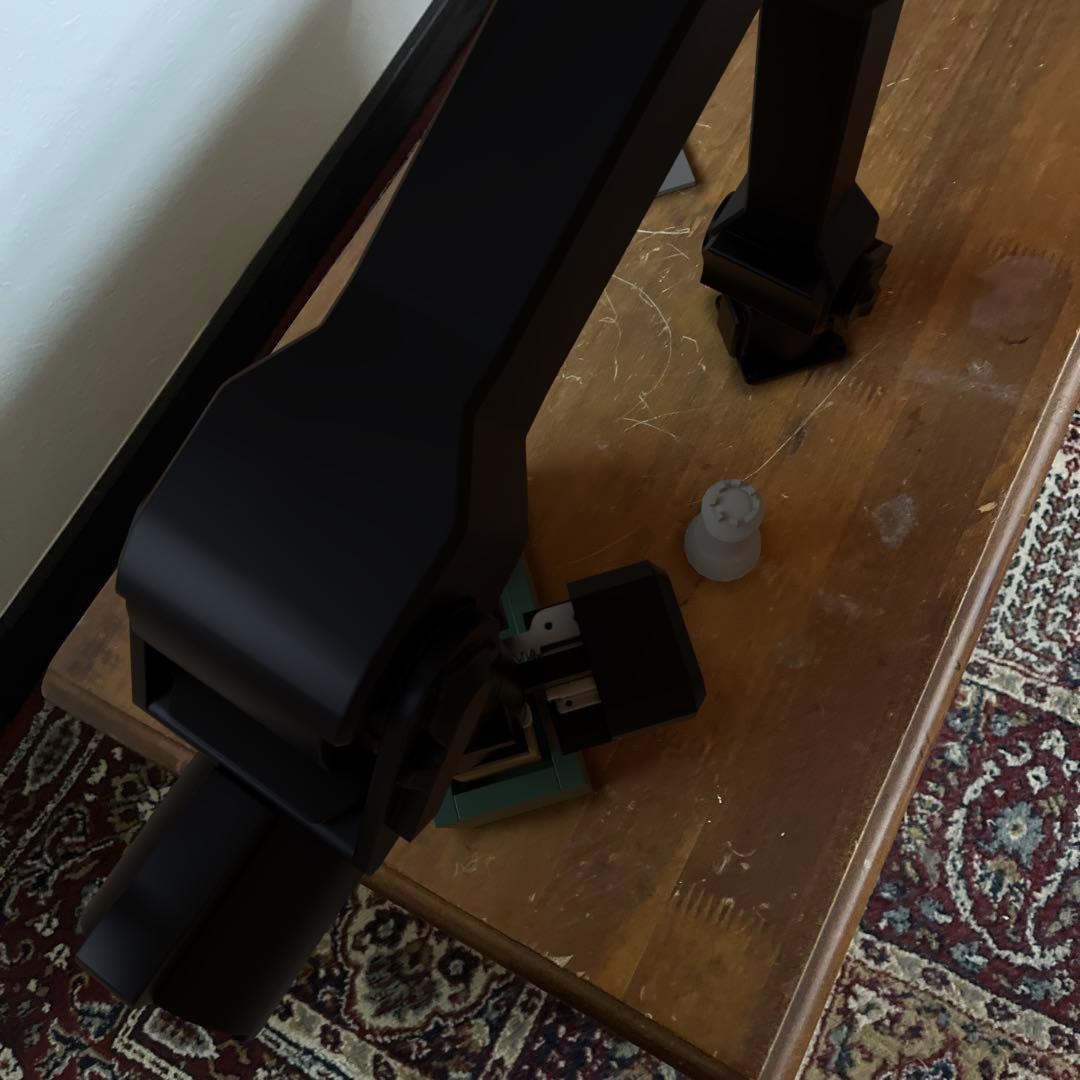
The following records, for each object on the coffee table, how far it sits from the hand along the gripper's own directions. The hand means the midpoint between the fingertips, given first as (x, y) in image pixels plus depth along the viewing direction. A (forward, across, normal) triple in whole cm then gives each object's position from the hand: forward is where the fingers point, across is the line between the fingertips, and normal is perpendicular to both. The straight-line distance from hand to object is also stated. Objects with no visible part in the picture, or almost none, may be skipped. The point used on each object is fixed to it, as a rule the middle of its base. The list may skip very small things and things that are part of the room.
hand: (487, 726), depth 45 cm
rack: (+10, 0, -6) cm, 11 cm away
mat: (+10, -17, -37) cm, 42 cm away
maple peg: (-1, 0, 0) cm, 1 cm away
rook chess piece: (+10, -15, -8) cm, 19 cm away
